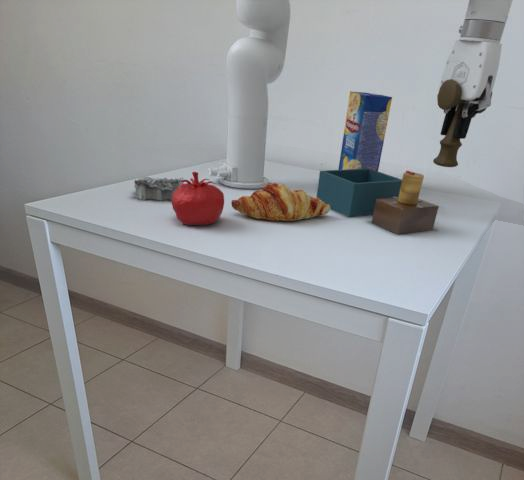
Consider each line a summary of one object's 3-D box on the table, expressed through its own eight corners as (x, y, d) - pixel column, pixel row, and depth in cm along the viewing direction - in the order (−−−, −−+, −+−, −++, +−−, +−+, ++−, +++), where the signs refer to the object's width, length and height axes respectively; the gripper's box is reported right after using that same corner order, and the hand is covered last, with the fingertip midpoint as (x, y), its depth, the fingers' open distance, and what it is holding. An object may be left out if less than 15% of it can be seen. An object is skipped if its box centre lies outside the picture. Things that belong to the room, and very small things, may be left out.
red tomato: (223, 230, 91) (225, 179, 86) (170, 228, 90) (168, 176, 85) (223, 215, 99) (224, 167, 94) (174, 212, 98) (172, 164, 93)
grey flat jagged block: (133, 200, 104) (131, 180, 102) (138, 191, 111) (137, 172, 108) (183, 202, 105) (182, 183, 103) (185, 193, 112) (185, 175, 109)
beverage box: (359, 180, 137) (374, 93, 126) (374, 190, 128) (392, 97, 117) (336, 179, 136) (350, 91, 124) (350, 189, 127) (365, 95, 115)
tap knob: (421, 204, 99) (428, 174, 96) (407, 205, 97) (414, 175, 94) (407, 198, 102) (413, 170, 99) (393, 200, 100) (399, 171, 97)
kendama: (471, 169, 105) (504, 63, 94) (434, 168, 102) (464, 58, 91) (453, 163, 110) (482, 61, 99) (418, 162, 106) (444, 56, 96)
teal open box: (349, 217, 105) (354, 183, 101) (315, 201, 114) (319, 170, 110) (398, 211, 112) (405, 180, 108) (363, 197, 121) (369, 168, 117)
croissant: (321, 228, 108) (321, 191, 107) (339, 219, 98) (339, 179, 98) (228, 226, 103) (226, 187, 102) (237, 216, 93) (236, 174, 92)
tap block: (397, 234, 97) (403, 208, 94) (371, 222, 103) (375, 197, 100) (433, 230, 101) (439, 205, 99) (405, 218, 107) (411, 194, 104)
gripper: (436, 30, 97) (412, 129, 107) (505, 33, 85) (471, 144, 95) (461, 34, 100) (436, 130, 110) (530, 37, 89) (496, 144, 98)
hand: (452, 135), depth 102 cm, fingers closed on kendama, 2 cm apart
